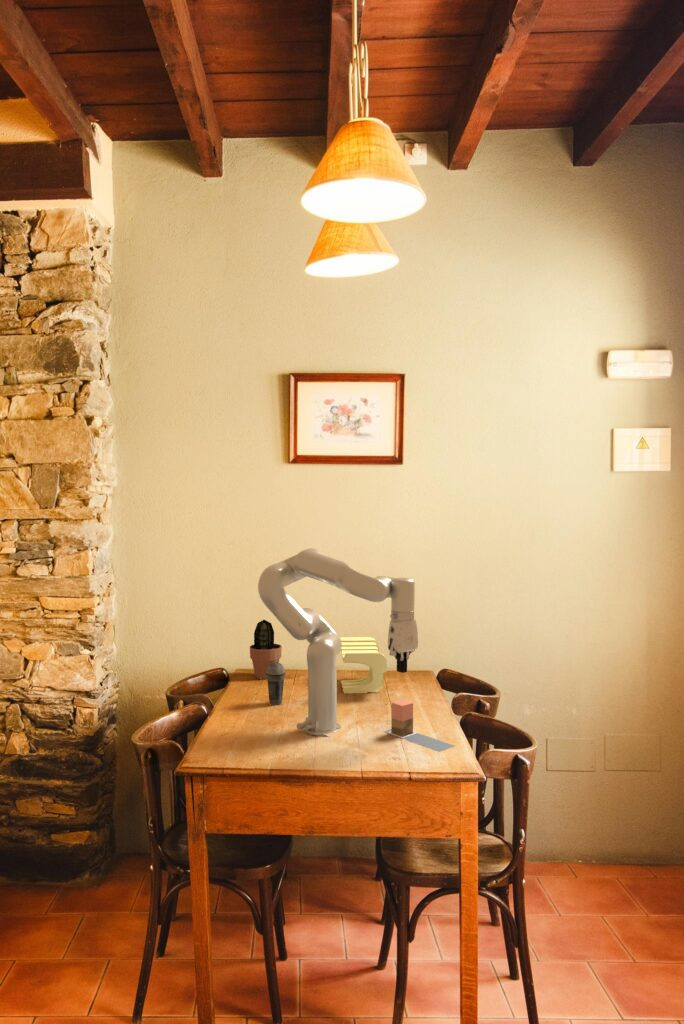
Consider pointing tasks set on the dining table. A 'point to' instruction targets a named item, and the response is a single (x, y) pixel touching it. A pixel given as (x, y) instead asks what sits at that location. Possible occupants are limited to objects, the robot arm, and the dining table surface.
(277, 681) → the beverage cup
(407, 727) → the walnut block
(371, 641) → the slatted curved stool
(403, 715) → the red block
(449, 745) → the blueprint mat
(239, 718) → the dining table surface
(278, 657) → the potted plant
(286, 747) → the dining table surface
